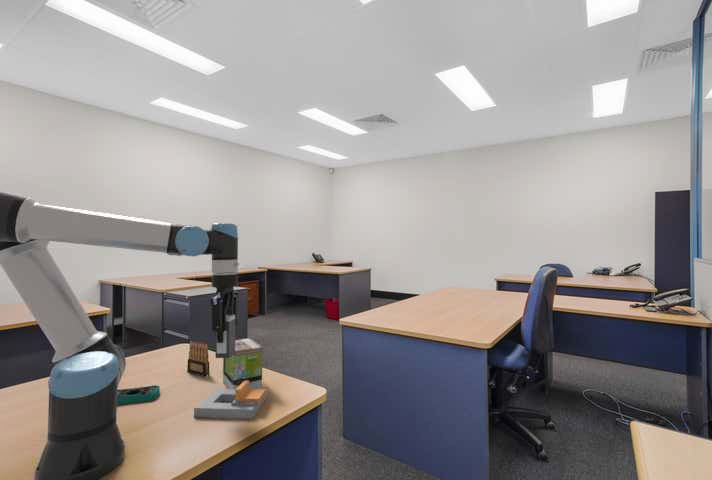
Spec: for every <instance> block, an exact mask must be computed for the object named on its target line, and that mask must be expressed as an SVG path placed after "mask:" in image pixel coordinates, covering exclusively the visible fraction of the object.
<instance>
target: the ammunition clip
mask: <svg viewBox="0 0 712 480" xmlns="http://www.w3.org/2000/svg"><path fill="white" fill-rule="evenodd" d="M208 346H209V345H208V344H207V343H204V342H203V343H201V342H198V341H192V340H190V344H189V350H188V359H187V370H186V372H187V373H190V374H193V373H194V375H197V374H198V375H197V376H201V375H202V376H201V377H205V376H206V377H208V376H210V361H209V347H208ZM207 375H208V376H207Z"/></svg>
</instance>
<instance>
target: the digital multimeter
mask: <svg viewBox="0 0 712 480" xmlns="http://www.w3.org/2000/svg"><path fill="white" fill-rule="evenodd" d="M160 392H161V389H160V386H159V385H155V384H154V385H150V386H149V385H148V386H140V387H134V388H132V387H131V388H123V389H121V388H120V389H118V390H117V406H120V405H121V406H122V405H129V404H135V403H142V402H143V403H144V402H150V401H151V402H153V401H155V400H156V399H157V398H158V397H159V395H160Z"/></svg>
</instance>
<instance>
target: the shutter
mask: <svg viewBox="0 0 712 480" xmlns="http://www.w3.org/2000/svg"><path fill="white" fill-rule="evenodd" d="M266 390H267V388H262V389H253V388H249V380H244V381H243V382H242V383H241V384H240V385H239V386H238V387H237V388H236V389H235V402H254V403H256V404H259V403H260V401H261V400H262V399H263V397H264V396H265V395H266Z"/></svg>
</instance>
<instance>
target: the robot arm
mask: <svg viewBox="0 0 712 480" xmlns="http://www.w3.org/2000/svg"><path fill="white" fill-rule="evenodd" d="M238 233H239V232H238V226H237V224H235V223H232V222H231V223H229V222H227V223H226V222H222V223H218V222H217V223H212V224H211V227H210V229H203V228H201V227H200V226H197V225H192V224H191V225H183V224H175V223H170V222H164V221H156V220H150V219H144V218H137V217H136V218H135V217H130V216H129V217H128V216H123V215H115V214H111V213H104V212H94V211H90V210H89V211H88V210H82V209H75V208H69V207H67V208H66V207H62V206H61V207H60V206H55V205H48V204H47V205H46V204H40V203H38V202H37V201H36V200H35V199H34V198H32V197H28V196H20V195H14V194H10V193H6V192H3V191H0V266H1V268H2V269H3V271H4V273H5V274H6V275H7V277H8V279H9V280H10V282H11V283H12V285H13V286H14V288H15V290H16V292H18V294H19V296H20V297H21V299H22V301H23V302H24V304H25V306H26V308H28V310H29V311H30V313H31V315H32V316H33V318H34V319H35V321H36V322H37V324H38V326H39V327H40V329H41V331H42V332H43V333H44V335H45V336H46V338H47V340H48V341H49V343H50V344H51V346H52V348H53V349H54V351H55V353H54V356H53V357H52V360H51V361H52V362H51V363H53V365H54V366H53V367H52V369H51V370H50V371H51V372H50V373H49V374H50V375H49V379H48V383H47V384H48V409H47V411H48V413H47V414H48V415H47V439H46V444H45V446H44V447H43V451H42V453H41V456H40V458H39V462H38V464H37V465H36V468H35V470H34V474H33V475H34V477H33V478H34V479H33V480H96V479H97V480H98V479H101V478H102V477H104V476H105V475H106V476H107V474H109V473H111V472H112V471H113V470H115V469H116V468H118V466H119V465H120V464H121V463H122V462H123V460H124V459H125V455H126V454H125V453H126V445H125V442H124V439H123V438H122V435H121V432H120V429H119V427H118V426H119V425H118V424H117V411H118V405H117V390H119V385H120V382H121V379H122V377H123V375H124V372H125V370H126V356H125V354H124V352H123V351H122V349H121V348H120V347H119V346H118V345H116V344H114V343H113V341H112V340H111V338H110V336H109V335H108V333H107V332H104V331H99V330H97V329H96V328H95V326H94V324H93V322H92V320H91V319H90V317H89V315H88V314H87V312H86V310H85V309H84V307H83V305H82V303H80V301H79V299H78V297H77V296H76V294H75V293H74V291H73V289H72V288H71V285H69V282H68V281H67V279H66V278H65V276H64V274H63V273H62V271H61V269H60V268H59V266H58V265H57V263H56V261H55V259H54V258H53V256H52V254H51V253H50V251H49V250H48V245H49V243H50V242H56V243H57V242H58V243H65V244H75V245H76V244H77V245H87V246H94V247H95V246H96V247H103V248H105V247H107V248H115V249H116V248H117V249H126V250H133V251H134V250H135V251H143V252H144V251H145V252H154V253H162V254H167V255H168V256H178V257H181V256H187V257H198V256H204V255H207V256H209V255H210V256H211V273H212V275H211V287H212V288H215V289H216V290H215V296H214V297H213V296H212V297H211V298H210V304H211V324H212V325H211V328H212V329H211V331H212V332H214V333H215V332H217V353H227V331H225V324H226V315H235V327H237V326H238V296H239V292H238V291H235V289H234V288H235V287H237V286H239V274H238V272H239V266H240V262H239V257H238V256H239V234H238Z"/></svg>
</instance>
